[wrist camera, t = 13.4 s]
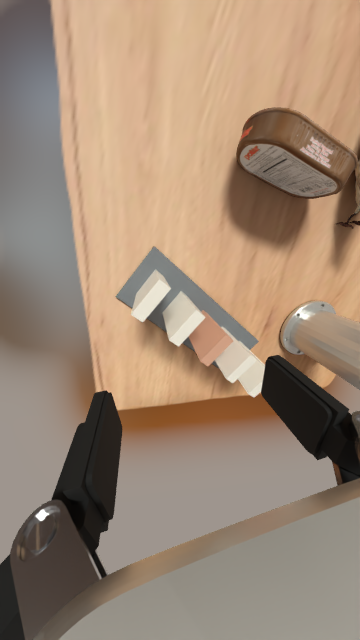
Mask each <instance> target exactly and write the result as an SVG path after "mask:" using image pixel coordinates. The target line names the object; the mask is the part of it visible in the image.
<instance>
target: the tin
mask: <svg viewBox="0 0 360 640" xmlns="http://www.w3.org/2000/svg"><path fill="white" fill-rule="evenodd" d="M236 156H237V161H238V163H239V164H240V166H241V167H242V168H243V169H244V170H245V171H247V172H248V173H250V174H252V175H254V176H256V177H257V178H259V179H261V180H263V181H265V182H266V183H268V184H270V185H272V186H274V187H276V188H277V189H279V190H281V191H283V192H285V193H287V194H289V195H292V196H296V197H300V198H308V199H314V198H319V197H325V196H329V195H333V194H337V193H338V192H340V191H341V189H342V188H343V187H344V185H345V184H346V182H347V180H348V178H349V177H350V175H351V173H352V172H353V171H354V169H355V168H356V166H357V164H358V158H357V156H356V154H355V153H354V152H353V151H352V150H351V149H350V148H348V147H347V146H345V145H344V144H343V143H341V142H340V141H339V140H337V139H336V138H334V137H333V136H332V135H330V134H329V133H328V132H326V131H325V130H324V129H322V128H321V127H320V126H319V125H317V124H316V123H314V122H313V121H312V120H310V119H309V118H308V117H307V116H305V115H304V114H302V113H300V112H298V111H296V110H292V109H289V108H280V107H279V108H276V107H274V108H268V109H264V110H261V111H259V112H257V113H255V114H253V115H252V116H251V117H250V118H249V119H248V120H247V121H246V123H245V125H244V127H243V132H242V136H241V139H240V142H239V145H238V148H237V153H236Z"/></svg>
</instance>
